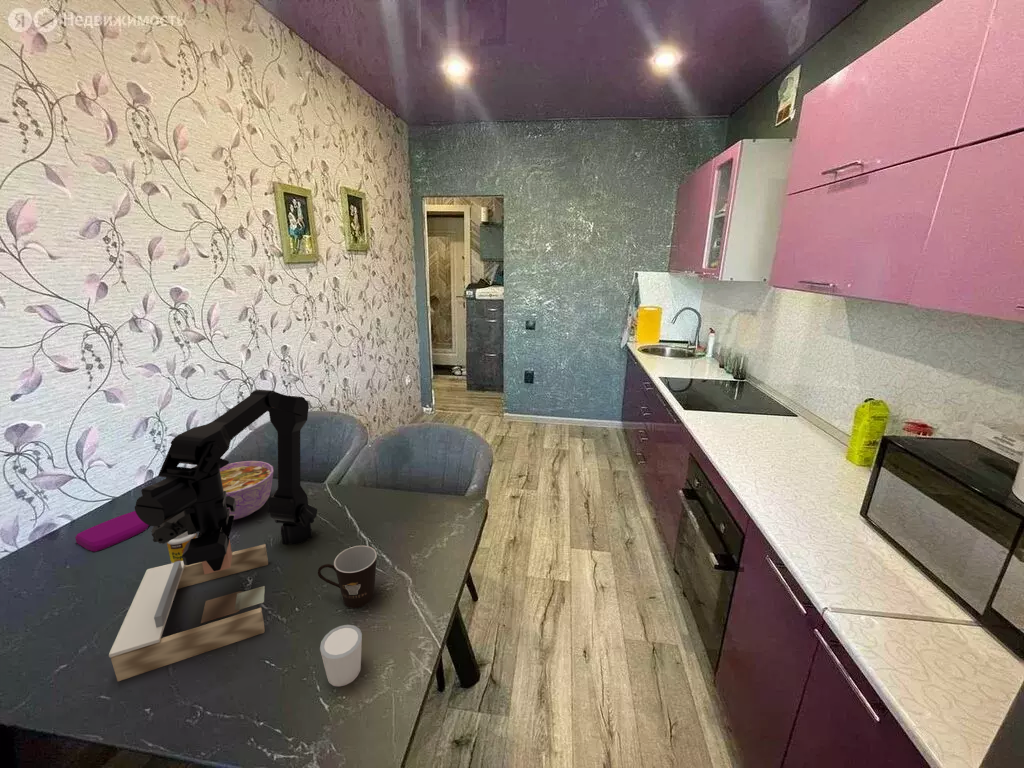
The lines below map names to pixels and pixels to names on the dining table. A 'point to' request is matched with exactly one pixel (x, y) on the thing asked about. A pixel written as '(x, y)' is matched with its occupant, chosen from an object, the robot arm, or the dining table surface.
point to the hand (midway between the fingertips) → (218, 563)
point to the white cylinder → (342, 654)
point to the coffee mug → (354, 575)
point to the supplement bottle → (179, 546)
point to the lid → (149, 609)
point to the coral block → (225, 564)
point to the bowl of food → (247, 485)
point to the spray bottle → (111, 532)
